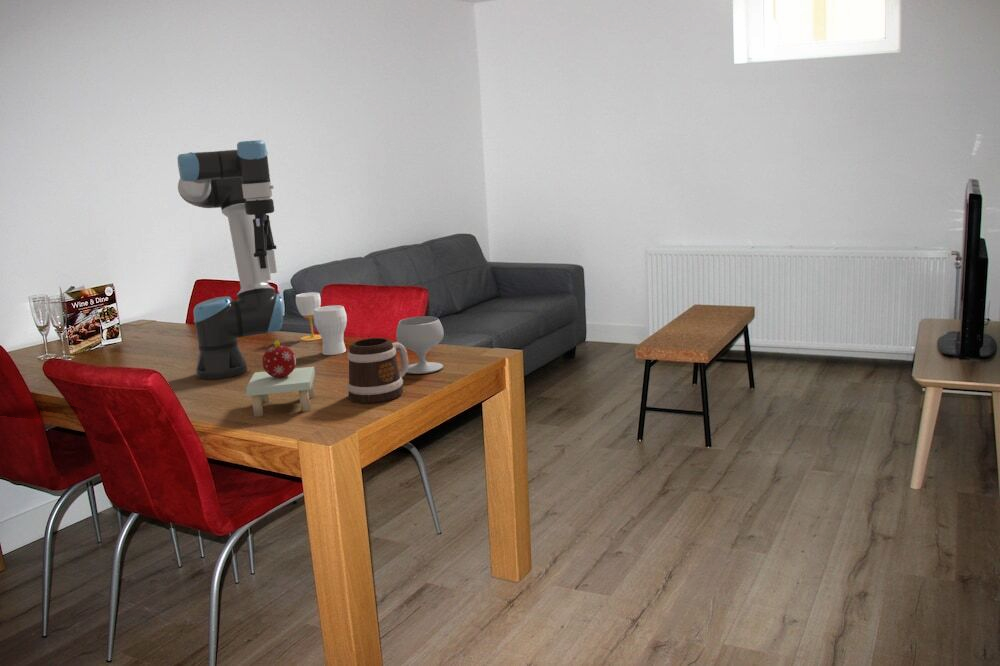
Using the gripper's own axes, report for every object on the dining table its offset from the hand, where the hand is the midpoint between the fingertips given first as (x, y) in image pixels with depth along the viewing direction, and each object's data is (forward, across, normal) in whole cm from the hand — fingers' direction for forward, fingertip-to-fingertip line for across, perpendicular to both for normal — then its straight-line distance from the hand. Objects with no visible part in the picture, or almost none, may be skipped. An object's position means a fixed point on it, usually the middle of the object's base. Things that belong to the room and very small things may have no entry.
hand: (268, 276), depth 234 cm
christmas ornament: (+25, -16, -2) cm, 30 cm away
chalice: (+33, +7, -40) cm, 52 cm away
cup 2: (+33, +67, -3) cm, 75 cm away
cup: (+33, +41, -12) cm, 54 cm away
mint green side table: (+33, -16, -2) cm, 36 cm away
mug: (+33, -14, -28) cm, 45 cm away
